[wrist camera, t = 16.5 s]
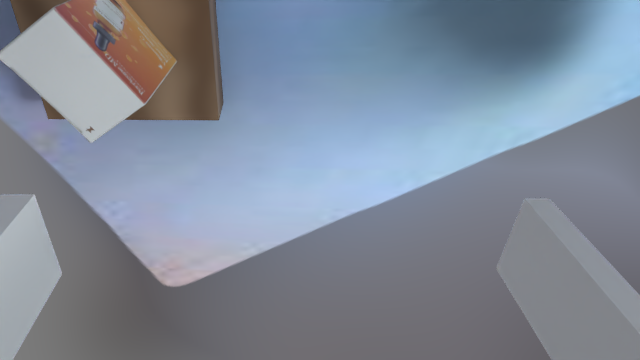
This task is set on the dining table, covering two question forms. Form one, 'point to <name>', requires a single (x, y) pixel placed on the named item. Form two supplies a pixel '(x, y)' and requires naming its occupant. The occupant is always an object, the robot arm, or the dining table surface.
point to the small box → (90, 62)
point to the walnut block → (181, 41)
